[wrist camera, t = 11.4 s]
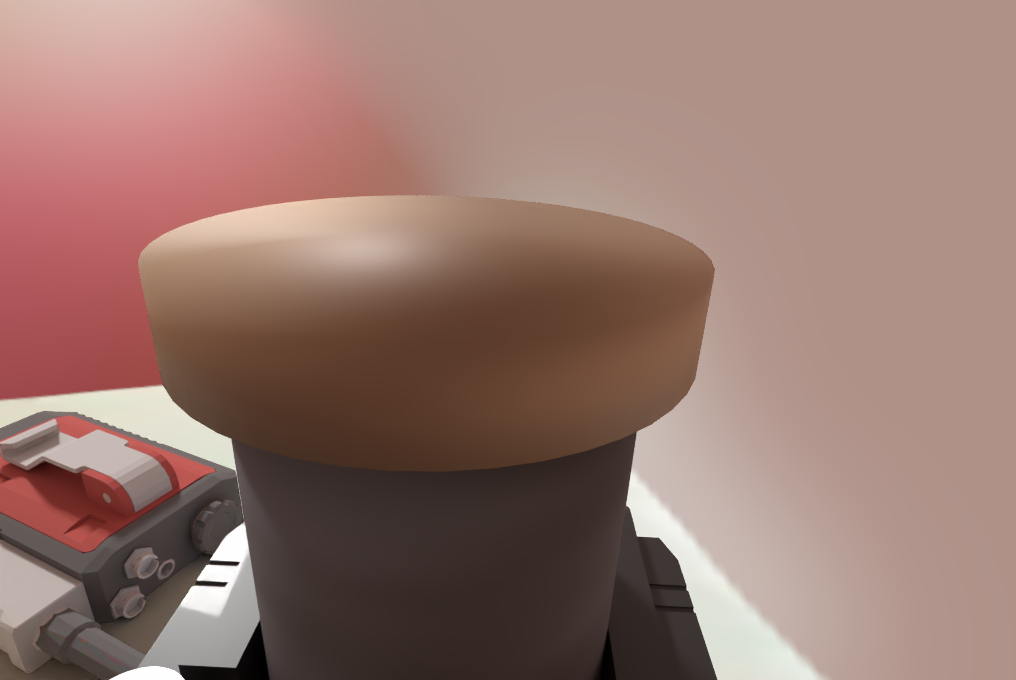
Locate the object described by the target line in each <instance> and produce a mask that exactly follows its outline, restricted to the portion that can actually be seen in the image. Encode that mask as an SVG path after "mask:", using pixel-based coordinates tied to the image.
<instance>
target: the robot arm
mask: <svg viewBox="0 0 1016 680" xmlns="http://www.w3.org/2000/svg"><path fill="white" fill-rule="evenodd" d="M110 680H270V679H269V673H268V666H267V660H266V654H265V647H264V641H263V635H262V628H261V622H260V616H259V609H258V603H257V597H256V591H255V584H254V578H253V572H252V565H251V559H250V553H249V546H248V540H247V534H246V527H245V522H243V523H242V524H241V525H240V526H238V527H237V528H236V529H234V530H233V531H232V532H230V533H229V534H228V535H227V536H226V537H225V538H224V540H223V541H222V543H221V544H220V546H219V547H218V549H217V550H216V552H215V553H214V555H213V556H212V557H211V559H210V563H209V565H206V566H205V568H204V569H203V571H202V572H201V574H200V575H199V577H198V578H197V580H196V585H195V586H192V587H191V589H190V590H189V592H188V593H187V595H186V596H185V598H184V599H183V601H182V602H181V604H180V605H179V607H178V608H177V610H176V611H175V613H174V614H173V616H172V617H171V619H170V620H169V622H168V623H167V625H166V626H165V627H164V629H163V630H162V632H161V633H160V635H159V636H158V638H157V639H156V641H155V642H154V644H153V645H152V647H151V648H150V650H149V651H148V653H147V654H146V656H145V657H144V659H143V660H142V662H141V663H140V665H139V666H138V667H137V669H136V670H132V671H128V672H126V673H123V674H121V675H118V676H116V677H114V678H112V679H110ZM600 680H717V677H716V674H715V671H714V668H713V665H712V662H711V659H710V656H709V653H708V650H707V647H706V644H705V641H704V638H703V635H702V632H701V629H700V626H699V623H698V620H697V616H696V613H694V611H693V604H692V601H691V598H690V595H689V592H688V591H687V590H686V583H685V580H684V577H683V574H682V571H681V568H680V565H679V562H678V560H677V558H676V557H675V556H674V555H673V554H672V553H671V551H670V550H669V549H668V548H667V547H666V546H665V544H664V543H663V542H662V541H661V540H660V539H659V538H651V537H637V535H636V531H635V527H634V523H633V519H632V515H631V512H630V509H629V507H627V506H626V508H625V515H624V522H623V528H622V535H621V542H620V549H619V556H618V562H617V569H616V576H615V583H614V590H613V597H612V603H611V610H610V617H609V624H608V631H607V637H606V644H605V651H604V658H603V665H602V672H601V678H600Z"/></svg>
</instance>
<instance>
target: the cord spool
mask: <svg viewBox="0 0 1016 680" xmlns="http://www.w3.org/2000/svg"><path fill="white" fill-rule="evenodd" d="M138 267H139V272H140V277H141V282H142V287H143V292H144V297H145V301H146V306H147V312H148V316H149V321H150V326H151V331H152V336H153V341H154V346H155V351H156V356H157V361H158V366H159V371H160V375H161V379H162V384H163V386H164V388H165V389H166V391H167V392H168V394H169V395H170V397H171V399H172V400H173V402H175V403H176V404H177V405H178V406H179V407H180V408H181V409H182V410H184V411H185V412H186V413H187V414H188V415H189V416H190V417H191V418H193V419H195V420H196V421H198V422H200V423H201V424H203V425H205V426H207V427H208V428H210V429H212V430H213V431H215V432H217V433H219V434H221V435H224V436H226V437H229V438H231V439H232V445H233V452H234V458H235V464H236V471H237V477H238V483H239V490H240V496H241V502H242V509H243V515H244V521H245V527H246V534H247V540H248V546H249V553H250V559H251V565H252V572H253V578H254V584H255V591H256V597H257V603H258V609H259V616H260V622H261V628H262V635H263V641H264V647H265V654H266V660H267V666H268V673H269V679H270V680H600V678H601V672H602V665H603V658H604V651H605V644H606V637H607V631H608V624H609V617H610V610H611V603H612V597H613V590H614V583H615V576H616V569H617V562H618V556H619V549H620V542H621V535H622V528H623V522H624V515H625V508H626V501H627V494H628V487H629V481H630V474H631V467H632V460H633V453H634V447H635V440H636V432H637V431H638V430H641V429H643V428H645V427H647V426H649V425H651V424H652V423H654V422H655V421H657V420H658V419H660V418H661V417H662V416H664V415H665V414H666V413H668V412H669V411H671V410H672V409H673V408H674V407H675V406H676V405H677V404H678V403H679V402H680V401H681V400H682V399H683V398H684V397H685V396H686V395H687V393H688V391H689V389H690V388H691V386H692V384H693V382H694V380H695V376H696V371H697V365H698V360H699V355H700V349H701V343H702V338H703V333H704V327H705V322H706V316H707V311H708V305H709V300H710V295H711V288H712V284H713V278H714V271H715V269H714V266H713V264H712V261H711V260H710V258H709V257H708V256H707V255H706V254H705V253H704V252H703V251H702V250H701V249H699V248H698V247H696V246H695V245H694V244H692V243H690V242H689V241H687V240H685V239H683V238H681V237H679V236H677V235H674V234H672V233H670V232H667V231H665V230H662V229H659V228H656V227H653V226H650V225H647V224H644V223H641V222H637V221H633V220H630V219H626V218H622V217H618V216H613V215H609V214H604V213H600V212H594V211H589V210H583V209H577V208H571V207H566V206H559V205H552V204H543V203H536V202H526V201H516V200H505V199H492V198H478V197H458V196H418V195H411V196H363V197H344V198H330V199H318V200H307V201H298V202H289V203H281V204H274V205H267V206H261V207H256V208H249V209H243V210H239V211H234V212H230V213H225V214H220V215H216V216H213V217H209V218H205V219H202V220H198V221H196V222H193V223H190V224H187V225H184V226H181V227H179V228H176V229H174V230H172V231H170V232H168V233H166V234H163V235H162V236H160V237H159V238H157V239H156V240H154V241H153V242H151V243H150V244H149V245H148V246H147V247H146V248H145V249H144V250H143V251H142V252H141V255H140V258H139V260H138Z"/></svg>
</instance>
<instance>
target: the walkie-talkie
mask: <svg viewBox="0 0 1016 680" xmlns="http://www.w3.org/2000/svg"><path fill="white" fill-rule="evenodd" d="M243 521H244V519H243V513H242V506H241V500H240V494H239V488H238V482H237V476H236V472H235V470H232V469H230V468H227V467H224V466H221V465H219V464H216V463H213V462H211V461H208V460H205V459H202V458H200V457H197V456H194V455H191V454H189V453H186V452H183V451H181V450H178V449H175V448H172V447H170V446H167V445H164V444H159V443H157V442H156V441H151V440H148V438H142V437H140V435H134V434H132V432H126V431H124V430H123V429H118V428H116V427H115V426H110V425H108V424H107V423H102V422H100V421H99V420H94V419H93V418H91V417H86V416H85V415H80V414H78V413H77V412H52V411H43V412H39V413H36V414H34V415H31V416H29V417H26V418H24V419H22V420H19V421H17V422H14V423H12V424H9V425H7V426H5V427H2V428H0V650H2V651H4V652H5V653H7V654H8V655H9V657H10V660H11V662H12V664H13V665H15V666H16V667H18V668H19V669H21V670H23V671H24V672H26V673H27V674H29V673H32V672H34V671H35V670H36V669H38V668H39V667H40V666H42V665H43V664H44V663H46V662H47V661H48V660H50V659H51V658H52V657H53V658H55V659H57V660H58V661H60V662H62V663H63V664H76V665H78V666H80V667H81V668H83V669H85V670H86V671H88V672H90V673H91V674H93V675H95V676H96V677H98V678H100V679H101V680H110V679H112V678H114V677H116V676H118V675H121V674H123V673H126V672H128V671H132V670H136V669H137V667H138V666H139V665H140V663H141V662H142V660H143V659H144V657H145V656H146V655H145V654H143V653H141V652H139V651H138V650H136V649H134V648H132V647H130V646H129V645H127V644H125V643H123V642H122V641H120V640H118V639H116V638H114V637H113V636H111V635H109V634H107V633H105V632H104V631H102V630H101V625H100V624H99V623H107V622H113V621H114V620H116V619H117V618H118V617H121V616H124V617H125V618H132V617H135V616H136V615H137V614H139V613H140V612H141V610H142V609H143V607H144V605H145V601H146V600H145V599H144V597H146V596H147V595H148V594H149V593H151V592H152V591H153V590H155V589H156V588H157V587H159V586H160V585H161V584H162V583H164V582H165V581H166V580H168V579H169V578H170V577H172V576H173V575H174V574H176V573H177V572H178V571H179V570H181V569H182V568H183V567H185V566H186V565H187V564H189V563H190V562H191V561H192V560H194V559H195V558H196V557H198V556H199V555H200V554H202V553H205V554H213V553H215V552H216V550H217V549H218V547H219V546H220V544H221V543H222V541H223V540H224V538H225V537H226V536H227V535H228V534H229V533H230V532H232V531H233V530H234V529H236V528H237V527H238V526H240V524H241V523H242V522H243Z"/></svg>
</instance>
